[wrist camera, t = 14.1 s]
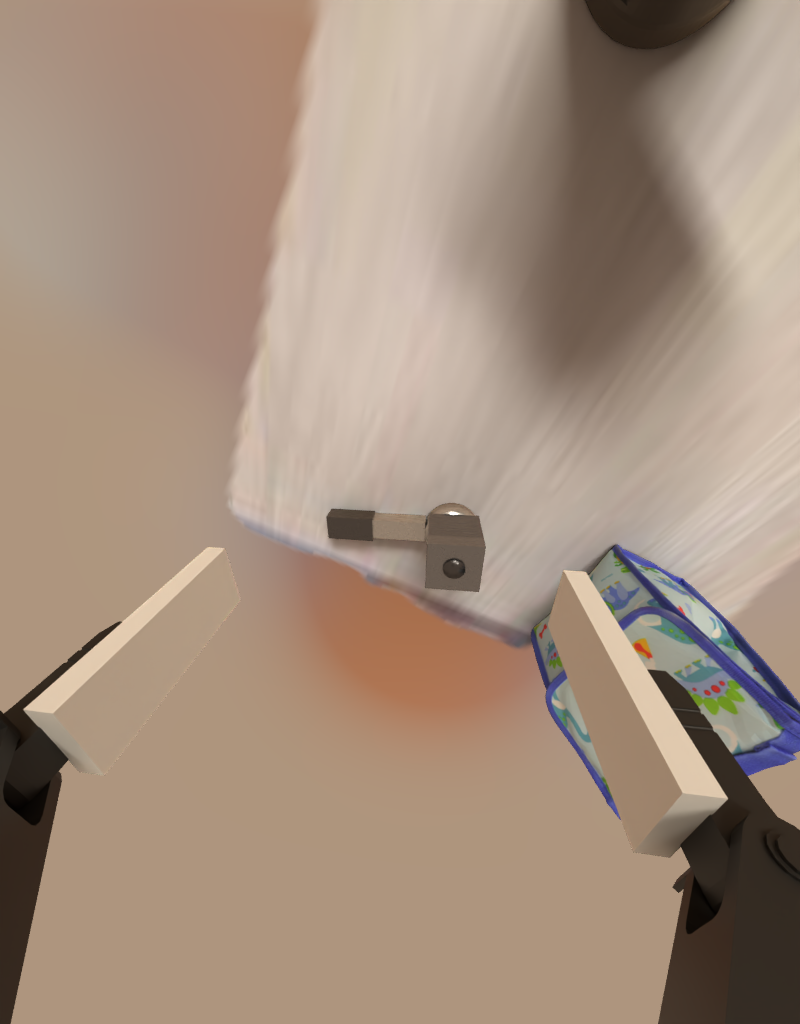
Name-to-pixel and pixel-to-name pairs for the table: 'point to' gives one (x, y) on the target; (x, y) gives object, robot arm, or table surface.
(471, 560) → the grey square block
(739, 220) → the table surface
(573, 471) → the table surface
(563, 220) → the table surface
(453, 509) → the chrome ball-end bar
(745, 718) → the lunch bag
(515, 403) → the table surface
